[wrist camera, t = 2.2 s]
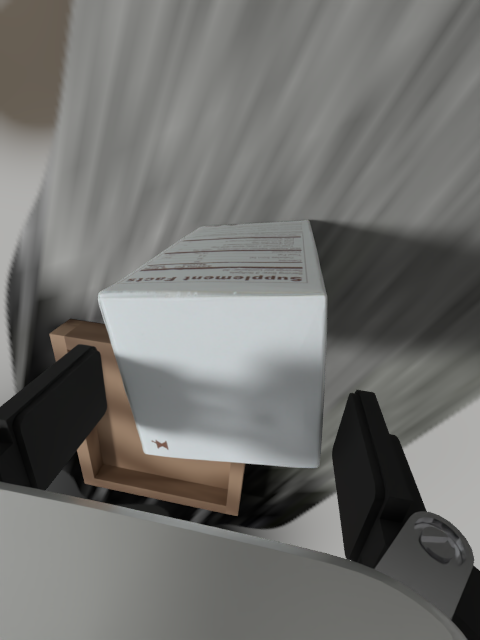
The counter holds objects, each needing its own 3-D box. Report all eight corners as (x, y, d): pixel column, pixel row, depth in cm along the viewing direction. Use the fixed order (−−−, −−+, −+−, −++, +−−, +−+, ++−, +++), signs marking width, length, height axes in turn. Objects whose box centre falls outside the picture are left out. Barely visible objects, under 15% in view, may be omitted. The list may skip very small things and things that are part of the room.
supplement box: (309, 322, 23) (321, 477, 12) (210, 320, 24) (137, 460, 13) (313, 216, 19) (335, 294, 8) (198, 221, 21) (85, 294, 10)
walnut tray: (70, 318, 26) (49, 333, 24) (260, 348, 24) (257, 367, 22) (98, 462, 35) (84, 483, 32) (241, 492, 33) (237, 516, 31)
